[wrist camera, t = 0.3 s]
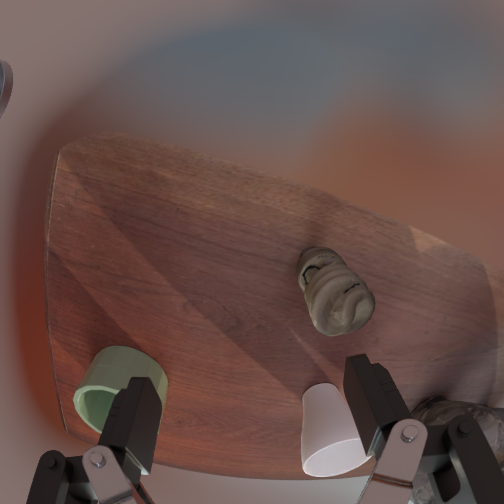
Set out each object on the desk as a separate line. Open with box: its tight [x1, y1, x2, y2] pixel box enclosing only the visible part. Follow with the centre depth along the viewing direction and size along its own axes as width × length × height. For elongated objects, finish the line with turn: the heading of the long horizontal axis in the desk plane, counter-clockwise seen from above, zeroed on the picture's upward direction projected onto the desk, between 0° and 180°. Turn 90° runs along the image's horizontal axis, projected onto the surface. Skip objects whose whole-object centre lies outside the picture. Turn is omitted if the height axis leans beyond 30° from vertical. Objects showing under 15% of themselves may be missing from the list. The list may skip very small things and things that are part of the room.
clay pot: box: [410, 396, 504, 504], centre depth 34 cm, size 23×25×30 cm
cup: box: [301, 383, 371, 477], centre depth 38 cm, size 10×10×14 cm
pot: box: [73, 346, 168, 433], centre depth 37 cm, size 13×13×9 cm
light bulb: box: [296, 247, 375, 336], centre depth 29 cm, size 6×6×15 cm
